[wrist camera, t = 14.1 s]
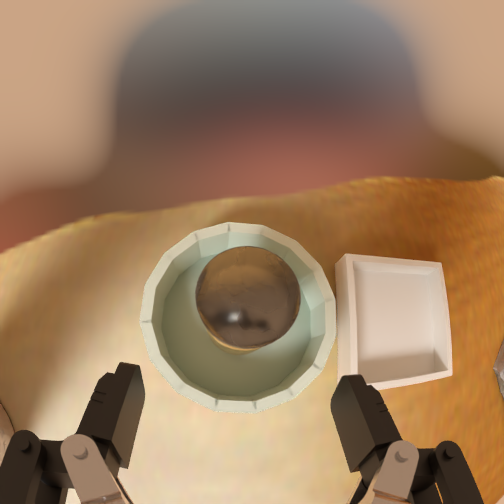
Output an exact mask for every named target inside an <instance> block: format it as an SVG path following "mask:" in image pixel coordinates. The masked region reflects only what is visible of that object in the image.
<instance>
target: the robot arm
mask: <svg viewBox="0 0 504 504" xmlns="http://www.w3.org/2000/svg"><path fill="white" fill-rule="evenodd" d="M90 399H91V400H90V401H89V403H88V406H87V408H86V410H85V413H84V415H83V418H82V420H81V422H80V425H79V427H78V430H77V432H76V433H75V434H74V435H71V436H69V437H67V438H66V439H65V440H63V441H51V440H39V438H38V437H37V436H36V435H35V434H34V433H33V432H31V431H28V430H21V431H18V432H16V433H14V430H13V427H12V425H11V422H10V419H9V417H8V416H7V414H6V411H5V410H4V408H3V407H2V405H1V403H0V504H65V502H66V497H67V492H68V488H73V489H75V490H76V492H77V495H78V497H79V499H80V501H81V504H134V503H133V501H132V500H131V498H130V496H129V495H128V493H127V491H126V490H125V488H124V486H123V485H122V483H121V481H120V479H119V478H118V471H119V467H122V468H127V469H128V466H129V462H130V457H131V453H132V449H133V445H134V440H135V436H136V432H137V428H138V424H139V420H140V417H141V413H142V409H143V405H144V400H145V389H144V384H143V379H142V375H141V370H140V366H139V365H135V364H129V363H124V362H120V363H119V365H118V367H117V369H116V372H115V374H113V373H108V372H107V373H106V374H105V375H104V376H103V377H102V378H101V379H99V380H98V383H97V385H96V387H95V389H94V393H93V394H92V396H91V398H90ZM331 412H332V415H333V418H334V421H335V425H336V428H337V431H338V434H339V437H340V440H341V444H342V447H343V450H344V453H345V457H346V460H347V463H348V466H349V470H350V473H352V472H356V471H360V473H361V476H360V478H359V479H358V482H357V484H356V486H355V488H354V490H353V492H352V494H351V496H350V498H349V499H348V501H347V503H346V504H442V502H441V499H440V496H439V493H438V490H437V488H436V485H435V483H437V485H438V488H439V491H440V493H441V496H442V499H443V504H484V503H483V500H482V497H481V495H480V492H479V490H478V487H477V485H476V483H475V480H474V478H473V476H472V473H471V471H470V469H469V466H468V464H467V462H466V460H465V458H464V456H463V453H462V451H461V449H460V447H459V446H458V445H457V444H456V443H454V442H452V441H443V442H441V443H440V444H439V445H438V446H437V447H436V448H430V449H418V448H416V447H415V446H414V445H413V444H412V443H410V442H408V441H403V440H402V438H401V436H400V434H399V432H398V430H397V427H396V425H395V423H394V421H393V419H392V417H391V415H390V413H389V412H388V409H387V407H386V405H385V404H384V401H383V399H382V397H381V395H380V393H379V392H378V391H377V390H376V389H375V388H374V387H373V386H372V385H367V384H366V382H365V380H364V378H363V376H362V375H361V374H354V375H343V376H342V377H341V379H340V381H339V383H338V386H337V388H336V390H335V392H334V394H333V396H332V399H331Z"/></svg>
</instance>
